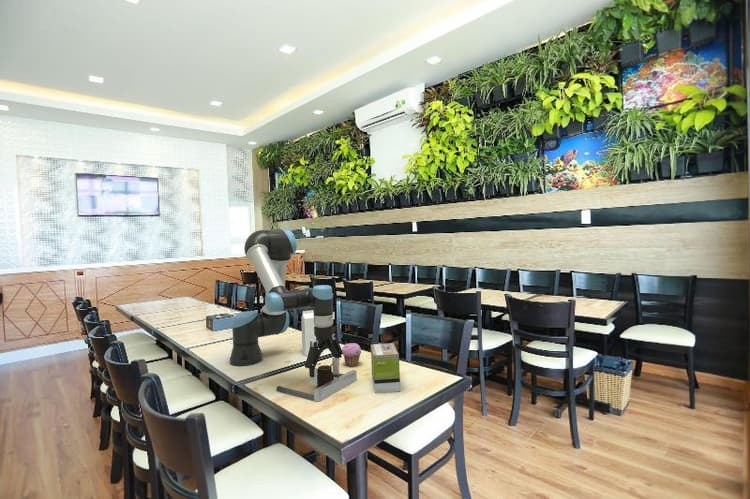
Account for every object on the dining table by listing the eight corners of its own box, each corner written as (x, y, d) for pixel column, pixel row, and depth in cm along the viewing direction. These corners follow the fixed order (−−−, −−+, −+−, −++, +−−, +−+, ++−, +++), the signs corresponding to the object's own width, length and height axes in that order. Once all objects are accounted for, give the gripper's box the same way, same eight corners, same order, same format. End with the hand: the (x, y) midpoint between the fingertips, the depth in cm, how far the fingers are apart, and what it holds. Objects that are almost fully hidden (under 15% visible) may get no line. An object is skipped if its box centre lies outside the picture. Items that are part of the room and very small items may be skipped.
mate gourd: (313, 385, 156) (312, 360, 156) (332, 382, 159) (331, 358, 159) (318, 392, 150) (317, 366, 149) (337, 388, 153) (336, 363, 152)
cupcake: (338, 365, 181) (337, 343, 180) (352, 360, 187) (351, 339, 187) (351, 369, 175) (351, 347, 174) (365, 364, 181) (364, 342, 181)
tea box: (371, 379, 162) (370, 343, 162) (395, 377, 163) (394, 342, 163) (374, 393, 147) (373, 354, 147) (400, 392, 148) (399, 353, 148)
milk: (302, 353, 201) (300, 310, 200) (313, 351, 204) (312, 309, 203) (305, 356, 195) (304, 312, 195) (317, 354, 198) (315, 310, 197)
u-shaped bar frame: (276, 391, 152) (276, 380, 152) (317, 372, 172) (316, 363, 172) (318, 402, 141) (318, 391, 141) (356, 380, 161) (356, 370, 161)
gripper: (309, 333, 141) (311, 392, 142) (350, 319, 162) (351, 371, 163) (294, 331, 145) (296, 388, 146) (335, 318, 166) (337, 368, 167)
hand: (325, 379), depth 154 cm, fingers open, 13 cm apart
